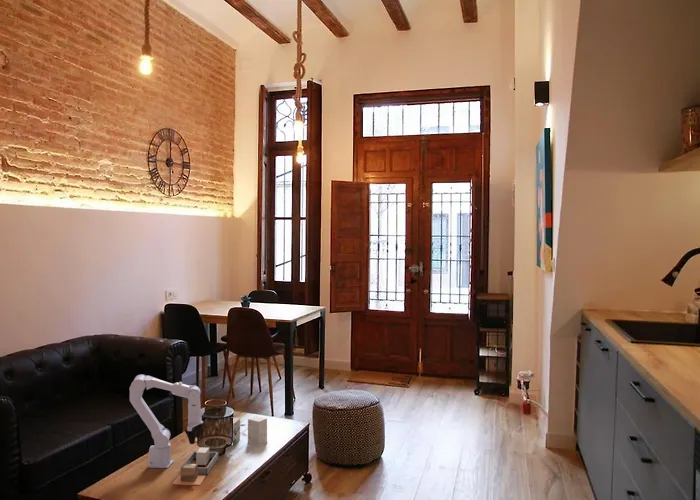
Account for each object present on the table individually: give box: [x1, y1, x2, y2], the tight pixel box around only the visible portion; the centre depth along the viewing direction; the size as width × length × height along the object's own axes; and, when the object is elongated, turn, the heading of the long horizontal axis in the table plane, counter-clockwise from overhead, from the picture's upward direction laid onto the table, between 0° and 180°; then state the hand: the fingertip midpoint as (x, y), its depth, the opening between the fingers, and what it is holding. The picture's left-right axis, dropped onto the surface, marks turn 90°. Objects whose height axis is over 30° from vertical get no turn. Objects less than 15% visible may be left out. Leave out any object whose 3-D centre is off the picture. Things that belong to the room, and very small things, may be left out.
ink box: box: [232, 417, 241, 447], centre depth 284 cm, size 9×5×12 cm, turn 168°
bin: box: [180, 450, 219, 476], centre depth 256 cm, size 12×18×3 cm
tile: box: [172, 473, 207, 486], centre depth 241 cm, size 12×9×1 cm
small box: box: [247, 415, 268, 447], centre depth 284 cm, size 8×6×13 cm
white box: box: [195, 447, 210, 466], centre depth 260 cm, size 4×6×6 cm
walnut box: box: [180, 463, 199, 482], centre depth 241 cm, size 4×6×6 cm
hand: (194, 440), depth 259 cm, fingers open, 7 cm apart
